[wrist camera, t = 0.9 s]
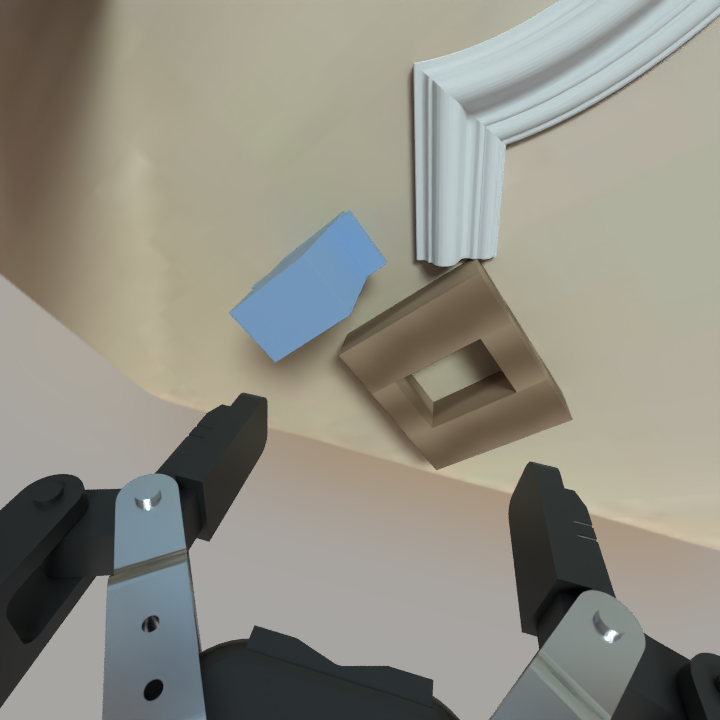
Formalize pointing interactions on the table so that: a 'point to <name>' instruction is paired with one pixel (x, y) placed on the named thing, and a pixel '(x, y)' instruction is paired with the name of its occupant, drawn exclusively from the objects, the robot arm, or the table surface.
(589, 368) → the table surface
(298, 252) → the blue block
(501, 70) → the molding
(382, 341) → the tan square ring
